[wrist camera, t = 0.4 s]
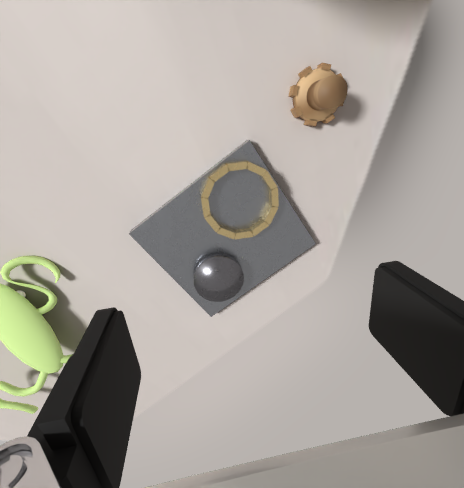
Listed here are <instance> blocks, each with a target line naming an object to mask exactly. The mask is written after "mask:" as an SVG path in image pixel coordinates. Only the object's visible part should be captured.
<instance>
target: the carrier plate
mask: <svg viewBox="0 0 464 488" xmlns="http://www.w3.org/2000/svg"><path fill="white" fill-rule="evenodd" d="M129 234H130V235H131V236H132V237H133V238H134V239H135V240H136V241H137V242H138V243H139V245H140V246H141V247H142V248H143V249H144V250H145V251H146V252H147V253H148V254H149V255H150V256H151V257H152V258H153V259H154V260H155V261H156V262H157V263H158V264H159V265H160V266H161V267H162V268H163V269H164V270H165V271H166V272H167V273H168V274H169V275H170V276H171V277H172V278H173V279H174V280H175V281H176V282H177V283H178V284H179V285H180V286H181V287H182V288H183V289H184V290H185V291H186V292H187V293H188V294H189V295H190V296H191V297H192V298H193V299H194V300H195V301H196V302H197V303H198V304H199V305H200V306H201V307H202V308H203V309H204V310H205V311H206V312H207V313H208V314H209V315H210V316H211V317H212V316H213V315H215V314H216V313H217V312H219V311H220V310H222V309H223V308H225V307H226V306H227V305H229V304H230V303H232V302H233V301H235V300H236V299H237V298H239V297H240V296H242V295H243V294H245V293H246V292H248V291H249V290H250V289H252V288H253V287H255V286H256V285H258V284H259V283H260V282H262V281H263V280H265V279H266V278H268V277H269V276H270V275H272V274H273V273H275V272H276V271H278V270H279V269H280V268H282V267H283V266H285V265H286V264H288V263H289V262H290V261H292V260H293V259H295V258H296V257H298V256H299V255H300V254H302V253H303V252H305V251H306V250H308V249H309V248H310V247H312V246H313V245H315V244H316V243H315V242H314V240H313V239H312V237H311V236H310V234H309V232H308V231H307V229H306V228H305V226H304V225H303V223H302V222H301V220H300V218H299V217H298V215H297V214H296V212H295V211H294V209H293V207H292V206H291V204H290V203H289V201H288V200H287V198H286V197H285V195H284V193H283V192H282V190H281V189H280V187H279V186H278V184H277V183H276V181H275V179H274V178H273V176H272V175H271V173H270V172H269V170H268V168H267V167H266V165H265V164H264V162H263V161H262V159H261V158H260V156H259V154H258V153H257V151H256V150H255V148H254V147H253V145H252V143H251V142H250V140H247V141H245V142H244V143H243V144H241V145H240V146H239V147H238V148H236V149H235V150H234V151H232V152H231V153H230V154H229V155H227V156H226V157H225V158H223V159H222V160H221V161H220V162H218V163H217V164H216V165H214V166H213V167H212V168H211V169H209V170H208V171H207V172H205V173H204V174H203V175H202V176H200V177H199V178H198V179H196V180H195V181H194V182H193V183H191V184H190V185H189V186H187V187H186V188H185V189H184V190H182V191H181V192H180V193H178V194H177V195H176V196H175V197H173V198H172V199H171V200H169V201H168V202H167V203H166V204H164V205H163V206H162V207H160V208H159V209H158V210H157V211H155V212H154V213H153V214H151V215H150V216H149V217H148V218H146V219H145V220H144V221H142V222H141V223H140V224H139V225H137V226H136V227H135V228H133V229H132V230H131V231H130V233H129Z"/></svg>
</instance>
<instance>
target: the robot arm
mask: <svg viewBox="0 0 464 488" xmlns="http://www.w3.org/2000/svg"><path fill="white" fill-rule="evenodd" d="M369 329H370V332H371V334H372V335H373V336H374V337H375V339H376V340H377V341H378V342H379V343H380V344H381V345H382V346H383V347H384V348H385V349H386V351H387V352H388V353H389V354H390V355H391V356H392V357H393V358H394V359H395V360H396V362H397V363H398V364H399V365H400V366H401V367H402V368H403V369H404V370H405V371H406V372H407V374H408V375H409V376H410V377H411V378H412V379H413V380H414V381H415V382H416V383H417V385H418V386H419V387H420V388H421V389H422V390H423V391H424V392H425V393H426V394H427V396H428V397H429V398H430V399H431V400H432V401H433V402H434V403H435V404H436V405H437V407H438V408H439V409H440V410H441V411H442V412H443V413H444V414H446V415H449V416H450V417H446V418H441V419H437V420H433V421H428V422H424V423H419V424H414V425H410V426H406V427H401V428H396V429H392V430H388V431H383V432H379V433H375V434H370V435H366V436H361V437H357V438H352V439H348V440H344V441H339V442H335V443H331V444H327V445H322V446H317V447H313V448H309V449H304V450H300V451H296V452H291V453H287V454H283V455H279V456H274V457H270V458H266V459H261V460H257V461H253V462H249V463H245V464H240V465H236V466H232V467H227V468H223V469H219V470H215V471H210V472H206V473H202V474H197V475H194V476H189V477H185V478H181V479H177V480H173V481H169V482H165V483H161V484H157V485H153V486H150V487H146V488H464V301H463V300H461V299H460V298H458V297H456V296H455V295H453V294H451V293H450V292H448V291H446V290H445V289H443V288H442V287H440V286H438V285H437V284H435V283H433V282H432V281H430V280H428V279H427V278H425V277H424V276H422V275H420V274H419V273H417V272H415V271H414V270H412V269H410V268H409V267H407V266H405V265H404V264H402V263H400V262H398V261H392V262H386V263H381V264H380V265H379V267H378V268H377V269H376V270H375V276H374V284H373V293H372V301H371V310H370V319H369ZM140 380H141V370H140V366H139V363H138V359H137V356H136V353H135V350H134V346H133V343H132V340H131V337H130V333H129V330H128V327H127V324H126V320H125V317H124V314H123V312H122V311H117V309H116V308H108V309H102V310H97V311H96V313H95V314H94V316H93V318H92V320H91V322H90V324H89V326H88V328H87V330H86V332H85V334H84V336H83V337H82V339H81V341H80V343H79V345H78V347H77V349H76V351H75V353H74V354H73V355H72V356H70V358H69V359H68V361H67V363H66V364H65V366H64V368H63V370H62V372H61V374H60V376H59V377H58V379H57V381H56V383H55V385H54V387H53V389H52V391H51V392H50V394H49V396H48V398H47V400H46V402H45V404H44V406H43V407H42V409H41V411H40V413H39V415H38V417H37V419H36V420H35V422H34V424H33V426H32V428H31V430H30V432H29V434H28V435H27V437H20V438H16V439H13V440H11V441H8V442H6V443H4V444H3V445H1V446H0V488H119V486H120V482H121V477H122V471H123V467H124V462H125V456H126V451H127V446H128V441H129V436H130V431H131V426H132V421H133V416H134V411H135V406H136V401H137V395H138V390H139V385H140Z"/></svg>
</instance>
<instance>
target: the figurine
mask: <svg viewBox="0 0 464 488" xmlns="http://www.w3.org/2000/svg"><path fill="white" fill-rule="evenodd" d="M22 264H39V265H43V266H45V267H47V268H49V269H50V270H51V271H52V272H53V273H54V275H55V277H56V281H55V283H56V282H57V281H58V280H59V278H60V270H59V269H58V267H57V266H56V265H55V264H54V263H52V262H51V261H50V260H48V259H45V258H43V257H38V256H23V257H18V258H15V259H13V260H10V261H9V262H8V263H6V264H5V265H3V267H2V269H1V271H0V272H1V275H2V277H3V279H5V280H6V281H8V282H10V283H13V284H17V285H21V286H25V287H29V288H33V289H35V290H38V291H41V292H43V293H45V294H46V295H47V296H48V297H49V301H48V303H47V304H46V305H45V306H43V307H41V308H38V309H36V308H35V307H34V306H33V305H32V304H31V303H30V302H29V301H28V300H27V299H26V298H25V296H26V295H25V292H23V291H20V290H19V291H15V290H13V289H12V288H10V287H8V286H5V285H3V284H0V340H1V341H2V343H3V344H4V345H5V346H6V347H7V348H8V350H9V351H11V352H12V353H13V354H14V355H15V356H16V357H18V358H19V359H20V360H21V361H22V362H24V363H25V364H27V365H29V366H30V367H32V368H34V369H35V370H37V371H40V375H39V377H38V380H37V382H36V384H35V385H34V386H32V387H29V388H18V387H15V386H13V385H11V384H9V383H6V382H3V381H0V390H3V391H5V392H7V393H9V394H12V395H15V396H27V395H31V394H34V393H36V392H38V391H39V390H40V389H41V388H42V387H43V385H44V383H45V381H46V378H47V375H48V374H50V373H55V372H58V371H59V370H60V368H61V367H62V366H63V363H67V361H68V359H69V358H70V356H72V355H73V354H72V355H67V356H63V353H62V349H61V346H60V343H59V341H58V339H57V337H56V335H55V333H54V332H53V330H52V328H51V326H50V325H49V324H48V322H47V321H46V320H45V319H44V317H43V316H42V314H45V313H47V312H48V311H50V310H52V309H53V308H54V306H55V305H56V304H57V297H56V295H55V294H54V293H53V292H51V291H50V290H48V289H46V288H43V287H40V286H36V285H32V284H24V283H17V282H14V281H12V280H11V278H10V277H9V274H10V271H11V270H12V269H14V268H15V267H17V266H19V265H22ZM0 408H7V409H14V410H21V411H25V412H28V413H31V414H33V413H35V412H36V411H37V410H38V407H36V406H33V405H29V404H23V403H18V402H10V401H5V400H2V399H0Z"/></svg>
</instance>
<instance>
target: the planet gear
mask: <svg viewBox="0 0 464 488" xmlns="http://www.w3.org/2000/svg"><path fill="white" fill-rule="evenodd" d="M330 68H331V65H330V64H326V63H321V64H319V65H318V67H317V69H314V70H312V69H311V67H310V66H309V67H307V68H305V69H304V70H303V71H301V72H300V73H299V74H298V75H299V77H300V79H299V81H298V82H297V84H296V85H293V86H291V87H290V92H289V97H293V106H294V108H293V109H291V112H292V114H293V116H294V118H297V117H301V118H302V119H303V120H305V122H304V125H307V126H316V124H317V121H322V122H323V123H329V122H330V121H331V120H332V119H334V118H335V117H334V115H333V113H334V112H335V111H336V109H337V108H338V107H339V106H343V103H344V100H345V98H346V95H347V83H346V81H345V80H344V78H343V77H342V75H341V73H340V74H338V75H336V74H335V73H334V72H332V71H331V70H330Z"/></svg>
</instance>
